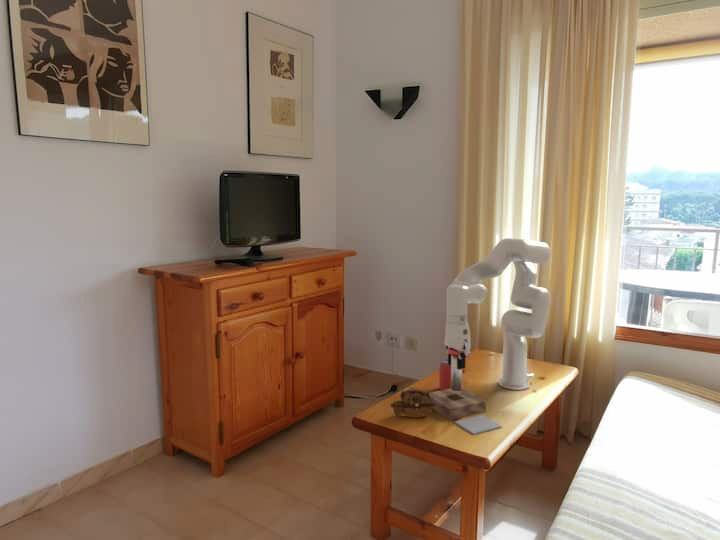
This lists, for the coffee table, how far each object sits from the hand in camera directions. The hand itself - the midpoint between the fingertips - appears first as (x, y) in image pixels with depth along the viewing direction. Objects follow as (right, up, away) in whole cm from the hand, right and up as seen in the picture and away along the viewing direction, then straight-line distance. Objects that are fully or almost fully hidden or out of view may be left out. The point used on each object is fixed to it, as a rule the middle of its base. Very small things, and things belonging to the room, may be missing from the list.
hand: (456, 365), depth 190 cm
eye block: (0, -16, +2) cm, 16 cm away
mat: (+5, -18, -13) cm, 23 cm away
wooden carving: (-16, -17, -6) cm, 25 cm away
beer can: (0, -14, +20) cm, 24 cm away
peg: (0, -9, +1) cm, 9 cm away
